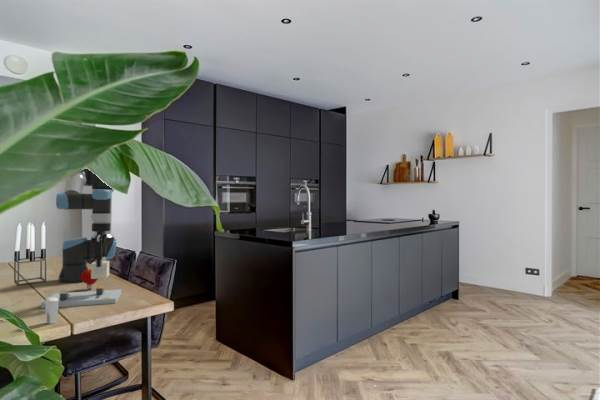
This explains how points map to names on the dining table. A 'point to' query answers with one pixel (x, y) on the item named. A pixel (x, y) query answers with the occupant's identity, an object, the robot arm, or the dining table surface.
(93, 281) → the light bulb
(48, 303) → the milkshake
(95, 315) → the dining table surface
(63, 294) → the breaker
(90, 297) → the panel
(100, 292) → the breaker
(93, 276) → the cap
